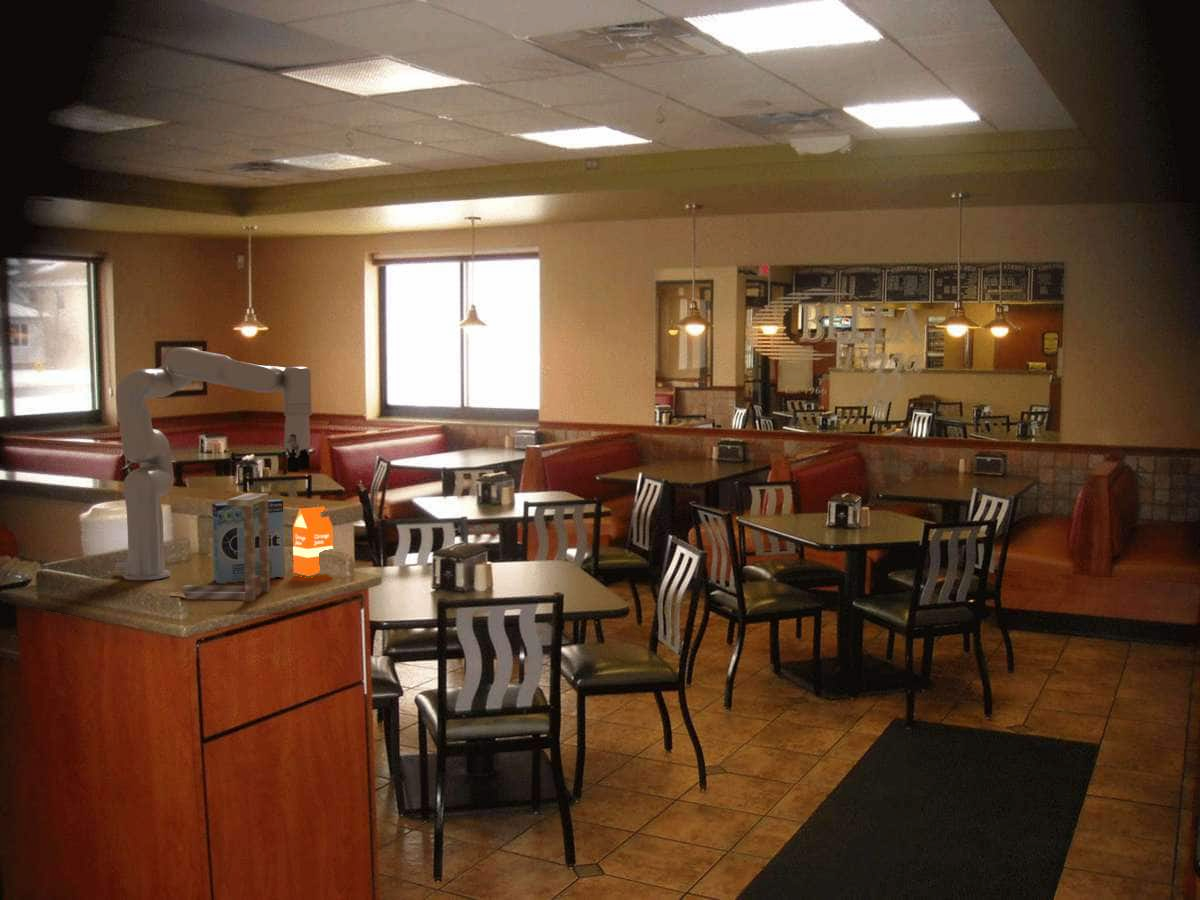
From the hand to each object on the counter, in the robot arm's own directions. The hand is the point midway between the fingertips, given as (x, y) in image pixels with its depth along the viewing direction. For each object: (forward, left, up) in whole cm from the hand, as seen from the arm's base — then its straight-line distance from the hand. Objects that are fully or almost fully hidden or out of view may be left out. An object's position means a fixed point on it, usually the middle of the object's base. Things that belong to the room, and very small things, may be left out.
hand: (298, 470), depth 319 cm
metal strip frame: (-18, -20, -32) cm, 42 cm away
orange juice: (0, +12, -32) cm, 35 cm away
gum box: (-16, +3, -32) cm, 36 cm away
